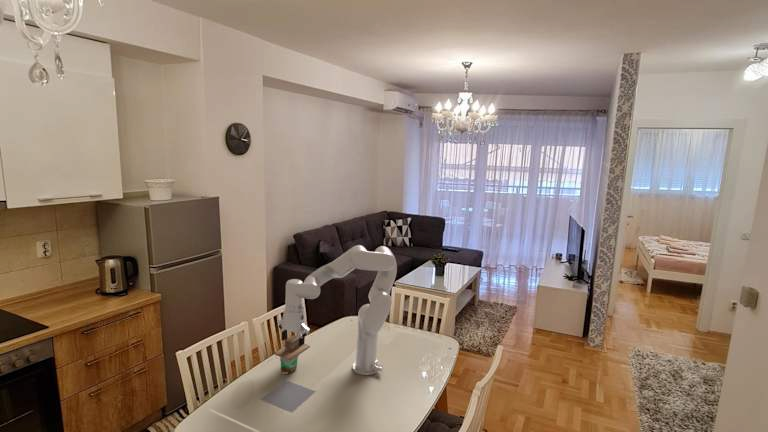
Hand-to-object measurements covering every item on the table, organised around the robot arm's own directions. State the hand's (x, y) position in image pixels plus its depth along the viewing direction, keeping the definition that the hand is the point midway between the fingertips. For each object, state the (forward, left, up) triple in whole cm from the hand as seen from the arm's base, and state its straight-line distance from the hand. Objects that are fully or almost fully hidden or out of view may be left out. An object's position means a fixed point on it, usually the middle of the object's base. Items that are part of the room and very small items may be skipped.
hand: (292, 342), depth 185 cm
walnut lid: (0, 0, -4) cm, 4 cm away
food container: (0, 0, -14) cm, 15 cm away
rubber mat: (-11, +16, -14) cm, 24 cm away
